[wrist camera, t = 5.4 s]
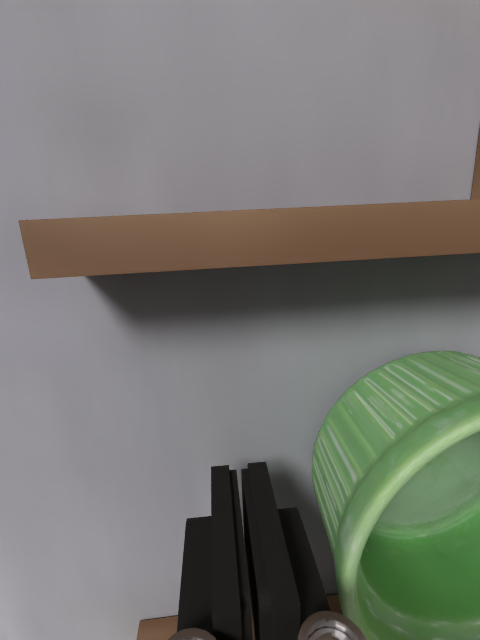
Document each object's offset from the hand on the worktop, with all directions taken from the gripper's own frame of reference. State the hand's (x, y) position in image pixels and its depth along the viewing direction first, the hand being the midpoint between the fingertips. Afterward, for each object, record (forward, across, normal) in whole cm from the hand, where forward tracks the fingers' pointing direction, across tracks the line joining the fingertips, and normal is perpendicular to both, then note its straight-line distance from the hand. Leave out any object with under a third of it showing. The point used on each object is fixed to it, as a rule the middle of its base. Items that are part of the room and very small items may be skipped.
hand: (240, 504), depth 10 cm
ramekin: (+2, -7, 0) cm, 7 cm away
